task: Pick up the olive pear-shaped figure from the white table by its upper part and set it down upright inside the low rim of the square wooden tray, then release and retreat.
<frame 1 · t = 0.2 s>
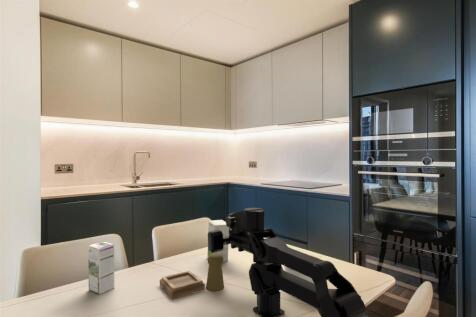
hand: (221, 232, 102), 17 cm above the table, tool horizontal, fingers open, 9 cm apart
syrup box: (101, 289, 94), on the table
olive pear-shaped figure: (215, 288, 96), on the table
square wooden tray: (181, 287, 96), on the table
skincare box: (218, 259, 122), on the table
lidded bowl: (303, 288, 96), on the table
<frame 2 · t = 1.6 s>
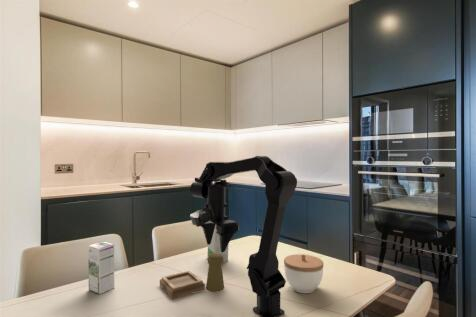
hand: (215, 248, 96), 13 cm above the table, tool pointing down, fingers open, 9 cm apart
nothing on the table moved.
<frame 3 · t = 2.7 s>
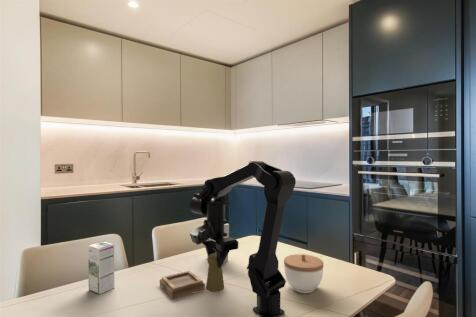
hand: (215, 264, 96), 8 cm above the table, tool pointing down, fingers closed on olive pear-shaped figure, 5 cm apart
olive pear-shaped figure: (215, 288, 96), on the table, touching gripper
everything else where it was.
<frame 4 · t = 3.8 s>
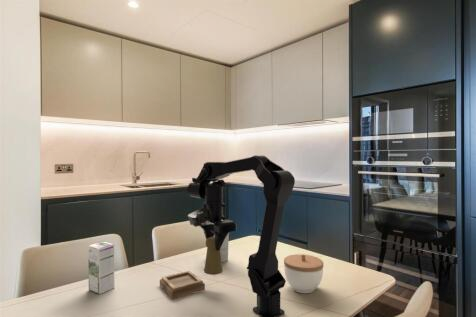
hand: (213, 248, 96), 13 cm above the table, tool pointing down, fingers closed on olive pear-shaped figure, 5 cm apart
olive pear-shaped figure: (213, 271, 96), point 5 cm above the table, touching gripper
everything else where it was.
when the fingers open (10 cm above the table, at t = 5.2 s): olive pear-shaped figure stays where it is, resting on square wooden tray.
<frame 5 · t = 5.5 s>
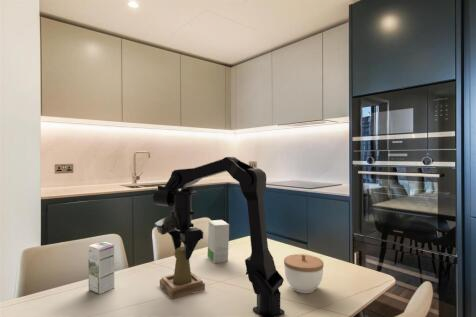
hand: (182, 255, 96), 10 cm above the table, tool pointing down, fingers open, 8 cm apart
olive pear-shaped figure: (182, 282, 96), point 2 cm above the table, touching square wooden tray
everything else where it was.
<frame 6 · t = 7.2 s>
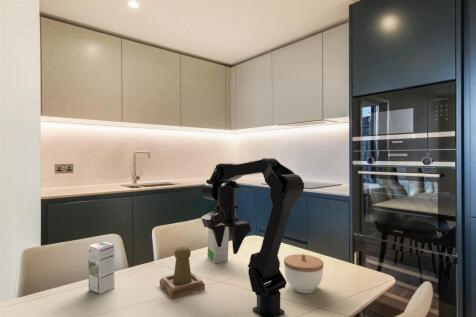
hand: (227, 250, 95), 13 cm above the table, tool pointing down, fingers open, 9 cm apart
nothing on the table moved.
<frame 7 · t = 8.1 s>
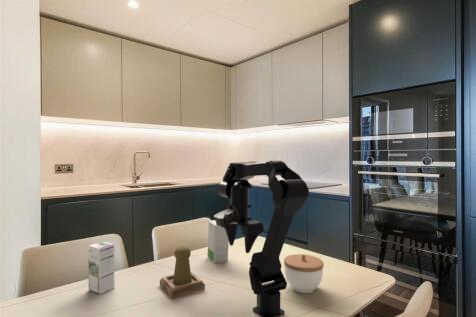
hand: (239, 249, 95), 13 cm above the table, tool pointing down, fingers open, 9 cm apart
nothing on the table moved.
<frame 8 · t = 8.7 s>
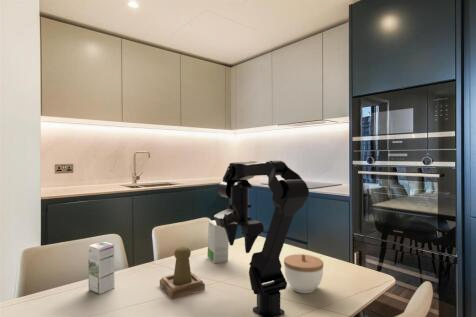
hand: (239, 249, 95), 13 cm above the table, tool pointing down, fingers open, 9 cm apart
nothing on the table moved.
at the end: olive pear-shaped figure 0.1 cm off-centre on the square wooden tray, point 1.8 cm above the square wooden tray's base; olive pear-shaped figure tilted 0°; the gripper is holding nothing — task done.
